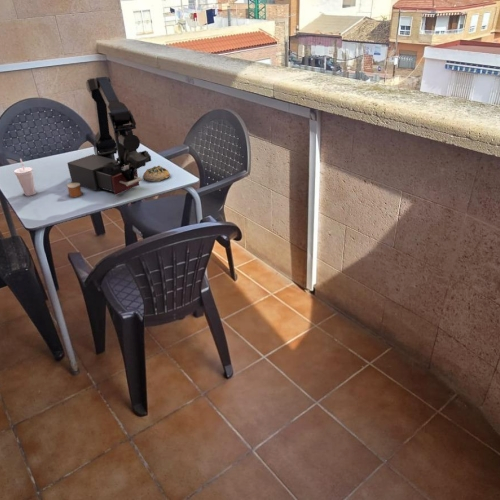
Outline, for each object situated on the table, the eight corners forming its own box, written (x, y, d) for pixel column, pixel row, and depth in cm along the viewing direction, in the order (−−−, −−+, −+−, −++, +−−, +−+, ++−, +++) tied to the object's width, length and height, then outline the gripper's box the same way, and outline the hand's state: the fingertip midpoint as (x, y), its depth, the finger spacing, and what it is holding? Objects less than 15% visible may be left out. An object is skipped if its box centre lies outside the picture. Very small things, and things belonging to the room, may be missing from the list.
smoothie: (27, 198, 162) (17, 162, 155) (17, 195, 165) (6, 159, 158) (42, 192, 167) (32, 157, 160) (32, 189, 170) (22, 154, 163)
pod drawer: (147, 187, 167) (145, 170, 164) (125, 197, 159) (122, 180, 156) (114, 177, 177) (111, 161, 173) (91, 186, 169) (88, 170, 165)
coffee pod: (77, 191, 167) (75, 181, 165) (85, 194, 165) (82, 184, 163) (66, 195, 164) (64, 185, 162) (74, 198, 161) (71, 188, 159)
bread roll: (154, 170, 185) (154, 159, 182) (175, 177, 181) (175, 166, 178) (137, 179, 177) (136, 168, 174) (158, 187, 173) (158, 176, 170)
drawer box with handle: (121, 181, 176) (118, 160, 171) (96, 191, 167) (92, 170, 163) (97, 173, 184) (93, 154, 179) (72, 183, 175) (67, 162, 170)
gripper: (118, 154, 144) (126, 197, 152) (158, 141, 158) (163, 181, 165) (97, 149, 150) (106, 191, 158) (137, 136, 163) (143, 175, 171)
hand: (131, 184), depth 163 cm, fingers closed, pressing on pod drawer
